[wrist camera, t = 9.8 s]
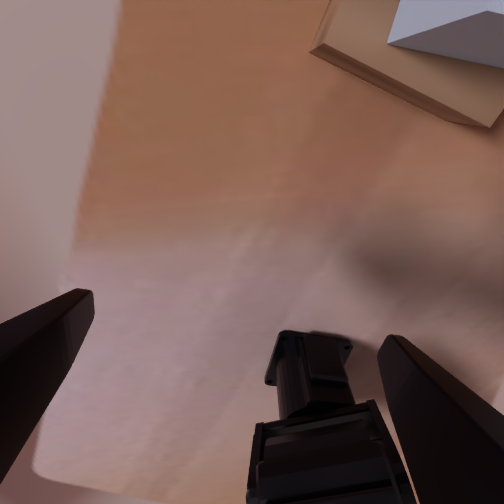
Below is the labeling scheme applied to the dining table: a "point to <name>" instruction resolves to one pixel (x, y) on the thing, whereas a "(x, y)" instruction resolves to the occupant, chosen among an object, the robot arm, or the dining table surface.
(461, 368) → the dining table surface
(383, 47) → the tan flat square block
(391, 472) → the robot arm
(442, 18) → the slate cube
